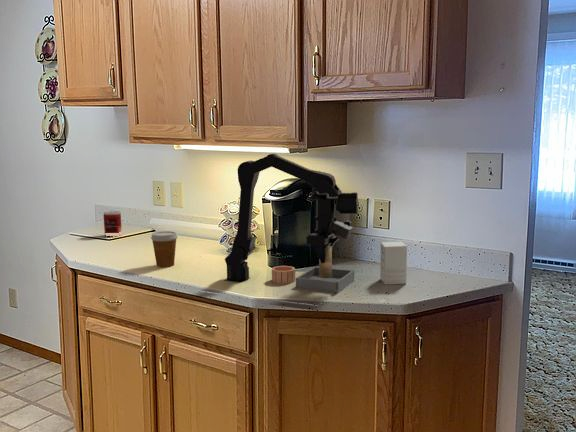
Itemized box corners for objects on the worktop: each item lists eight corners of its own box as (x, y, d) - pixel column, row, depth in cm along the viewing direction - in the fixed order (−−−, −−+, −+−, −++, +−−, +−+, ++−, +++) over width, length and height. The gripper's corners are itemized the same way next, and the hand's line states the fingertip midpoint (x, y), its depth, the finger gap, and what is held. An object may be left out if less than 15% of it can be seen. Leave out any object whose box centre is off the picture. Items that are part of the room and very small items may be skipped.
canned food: (117, 233, 292) (116, 210, 291) (124, 235, 286) (123, 212, 285) (101, 235, 287) (100, 212, 286) (109, 238, 281) (107, 214, 280)
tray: (295, 288, 195) (295, 278, 195) (314, 276, 209) (314, 266, 209) (337, 293, 189) (338, 282, 189) (354, 280, 204) (354, 270, 203)
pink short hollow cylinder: (267, 283, 201) (267, 270, 201) (277, 278, 208) (277, 265, 208) (289, 286, 198) (289, 272, 197) (299, 280, 205) (299, 267, 205)
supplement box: (401, 278, 206) (402, 241, 204) (406, 284, 199) (407, 245, 197) (379, 278, 206) (380, 241, 204) (383, 284, 199) (384, 246, 197)
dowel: (317, 277, 198) (317, 246, 196) (321, 274, 202) (321, 244, 200) (329, 278, 196) (329, 247, 195) (333, 275, 200) (333, 245, 198)
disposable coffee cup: (147, 265, 228) (145, 233, 226) (168, 261, 235) (167, 230, 233) (161, 269, 221) (160, 236, 219) (183, 265, 228) (182, 233, 226)
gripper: (339, 219, 184) (339, 270, 187) (358, 210, 201) (358, 257, 203) (305, 217, 189) (305, 267, 191) (326, 208, 205) (326, 254, 208)
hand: (325, 261), depth 198 cm, fingers closed on dowel, 4 cm apart
